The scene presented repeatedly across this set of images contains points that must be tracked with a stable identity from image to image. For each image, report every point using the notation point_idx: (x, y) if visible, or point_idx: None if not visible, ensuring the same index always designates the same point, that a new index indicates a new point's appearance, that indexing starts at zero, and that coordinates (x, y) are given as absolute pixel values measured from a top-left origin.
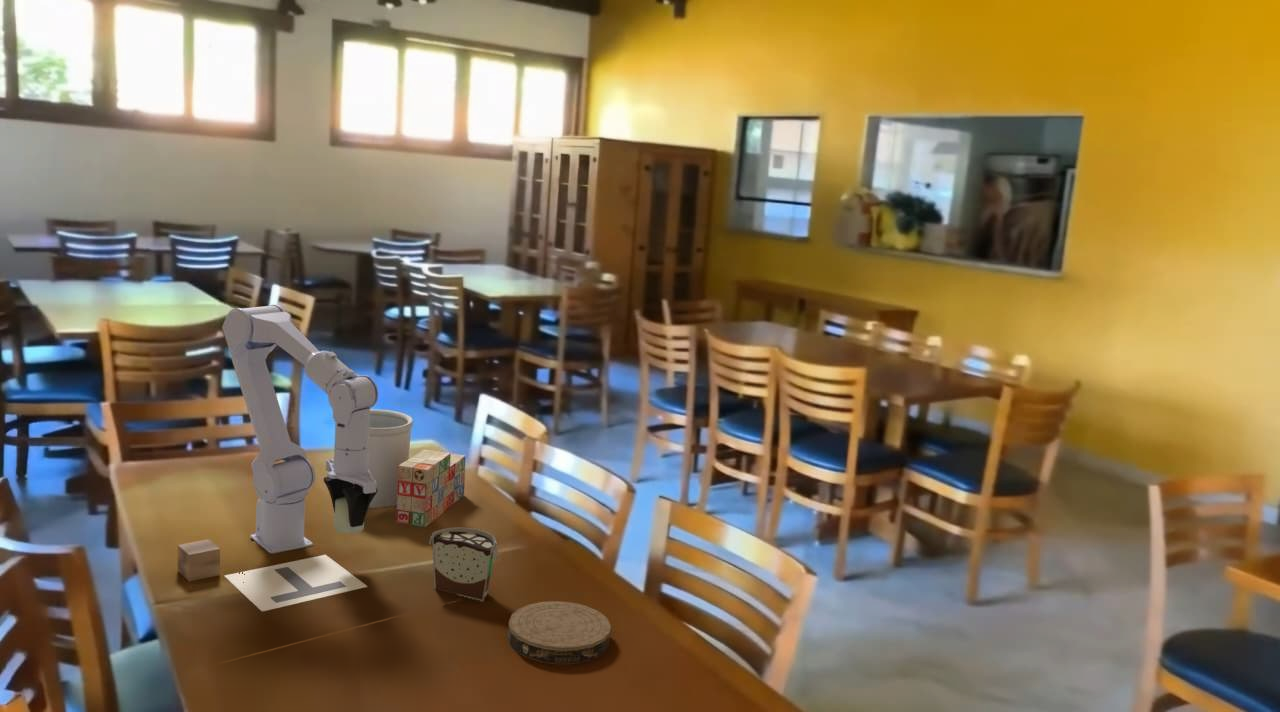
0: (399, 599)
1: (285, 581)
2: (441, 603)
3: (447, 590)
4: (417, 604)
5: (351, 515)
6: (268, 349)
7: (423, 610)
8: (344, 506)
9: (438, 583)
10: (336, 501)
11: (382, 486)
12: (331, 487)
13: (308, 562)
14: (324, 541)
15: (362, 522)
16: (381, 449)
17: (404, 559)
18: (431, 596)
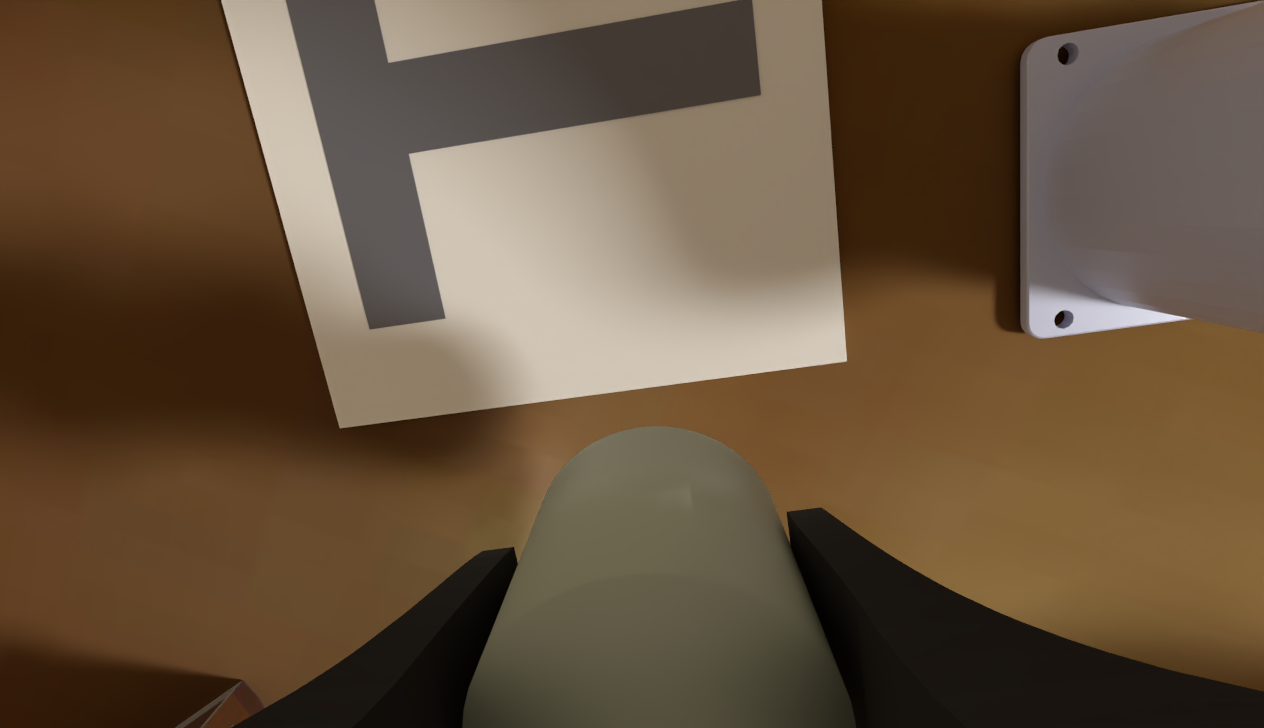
0: (174, 512)
1: (545, 21)
2: (94, 652)
3: (191, 721)
4: (104, 562)
5: (408, 615)
6: None
7: (38, 562)
8: (504, 628)
9: (207, 717)
10: (713, 597)
11: None
12: (936, 710)
13: (775, 235)
14: (1062, 419)
15: None
16: None
17: None
18: (175, 643)
